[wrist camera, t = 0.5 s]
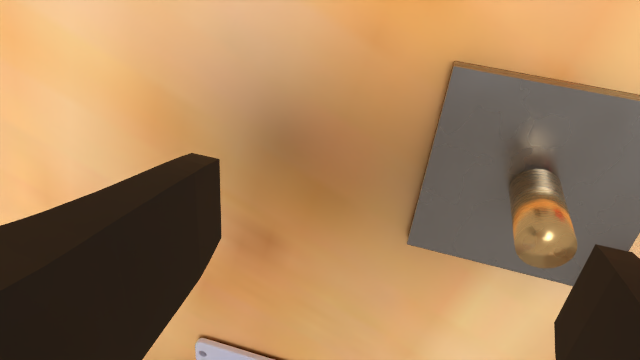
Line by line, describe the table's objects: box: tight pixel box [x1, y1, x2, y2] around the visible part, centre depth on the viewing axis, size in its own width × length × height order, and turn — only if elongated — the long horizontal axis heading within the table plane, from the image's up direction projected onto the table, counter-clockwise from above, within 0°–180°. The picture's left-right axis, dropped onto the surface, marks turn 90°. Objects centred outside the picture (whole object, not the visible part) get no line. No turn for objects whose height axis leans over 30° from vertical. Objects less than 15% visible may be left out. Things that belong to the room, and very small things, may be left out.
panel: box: [407, 61, 640, 286], centre depth 17 cm, size 8×8×4 cm
